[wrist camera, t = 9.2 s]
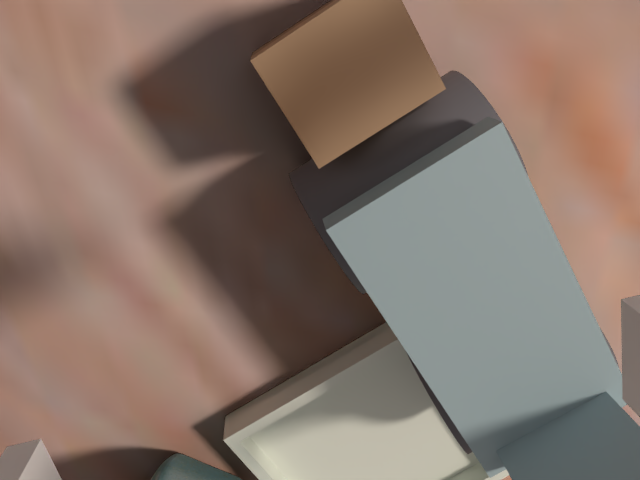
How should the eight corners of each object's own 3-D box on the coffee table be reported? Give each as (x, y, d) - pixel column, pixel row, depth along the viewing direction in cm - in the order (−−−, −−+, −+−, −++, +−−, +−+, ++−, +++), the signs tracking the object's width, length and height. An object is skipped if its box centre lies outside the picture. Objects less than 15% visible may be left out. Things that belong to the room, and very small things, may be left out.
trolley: (286, 159, 29) (310, 284, 15) (432, 65, 28) (606, 105, 14) (443, 398, 36) (562, 641, 22) (566, 329, 35) (774, 536, 21)
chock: (252, 52, 27) (250, 60, 21) (355, -17, 27) (386, -30, 20) (306, 137, 29) (319, 168, 23) (403, 74, 29) (446, 88, 22)
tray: (225, 416, 35) (223, 440, 33) (408, 309, 34) (417, 327, 32) (333, 539, 40) (337, 566, 38) (497, 450, 38) (511, 474, 36)
